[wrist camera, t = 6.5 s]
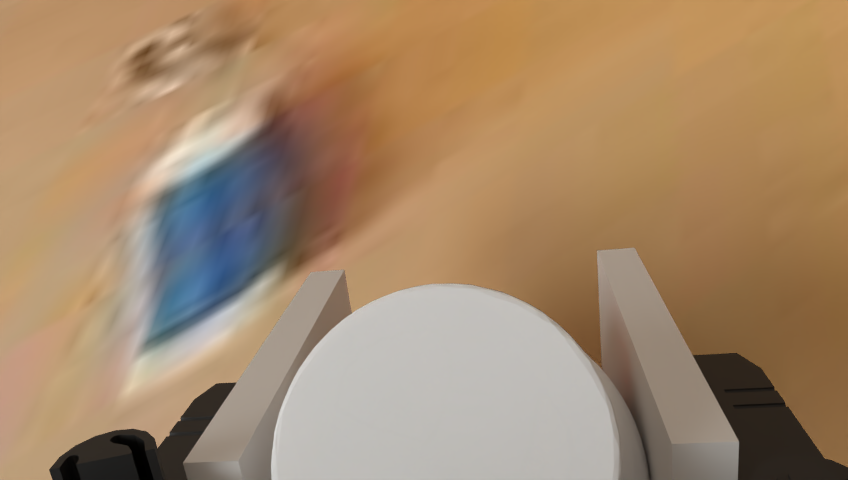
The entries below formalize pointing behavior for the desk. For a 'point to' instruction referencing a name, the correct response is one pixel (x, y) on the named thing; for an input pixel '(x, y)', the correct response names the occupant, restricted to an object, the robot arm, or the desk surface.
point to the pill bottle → (453, 397)
